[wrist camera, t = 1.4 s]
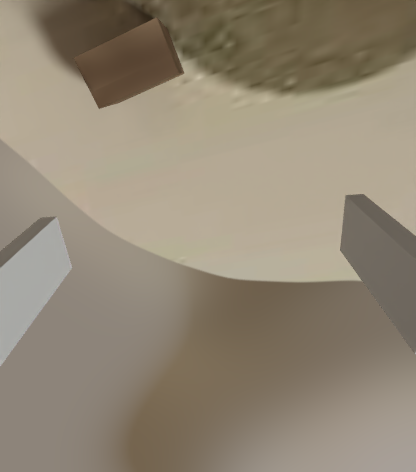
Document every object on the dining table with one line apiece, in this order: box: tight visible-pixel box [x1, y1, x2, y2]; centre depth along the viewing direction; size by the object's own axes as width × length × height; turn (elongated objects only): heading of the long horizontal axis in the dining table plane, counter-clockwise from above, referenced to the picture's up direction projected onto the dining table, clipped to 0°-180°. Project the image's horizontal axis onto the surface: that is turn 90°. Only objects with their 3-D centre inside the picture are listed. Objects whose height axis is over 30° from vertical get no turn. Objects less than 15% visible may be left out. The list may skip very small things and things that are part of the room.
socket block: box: [74, 17, 184, 109], centre depth 29 cm, size 4×7×6 cm, turn 112°
